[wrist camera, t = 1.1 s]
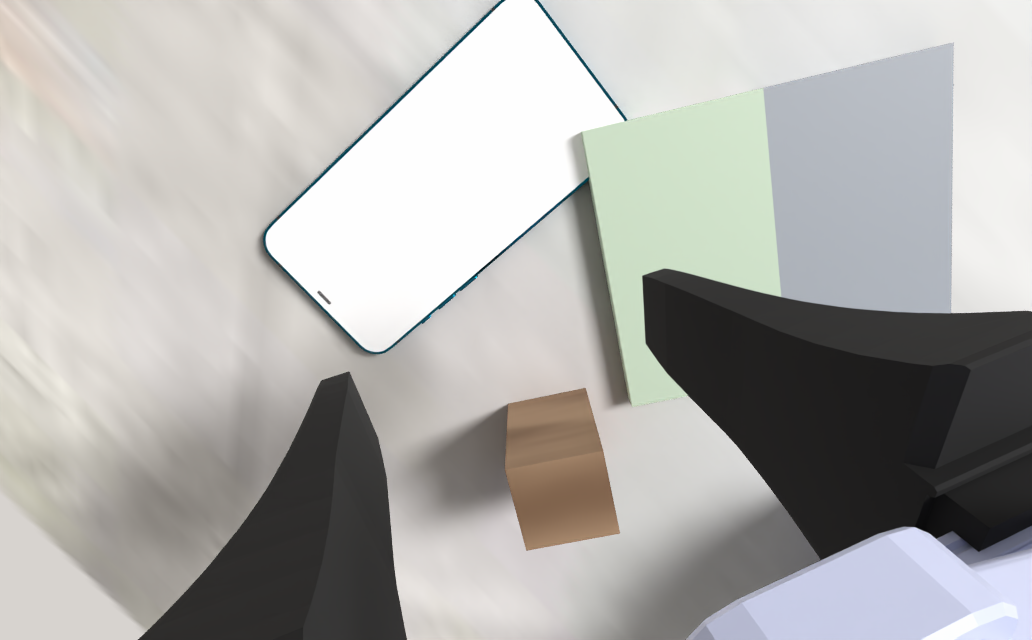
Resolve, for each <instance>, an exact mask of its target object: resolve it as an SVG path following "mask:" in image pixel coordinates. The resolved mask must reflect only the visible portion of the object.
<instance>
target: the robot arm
mask: <svg viewBox="0 0 1032 640" xmlns="http://www.w3.org/2000/svg"><path fill="white" fill-rule="evenodd" d="M642 283H643V303H644V324H645V344H646V345H647V346H648V348H649V349H650V351H651V352H652V354H653V355H654V356H655V358H656V359H657V361H658V362H659V363H660V365H661V366H662V367H663V369H664V370H665V371H666V373H667V374H668V375H669V376H670V377H671V378H672V379H673V380H674V381H675V382H676V383H677V384H678V385H679V386H680V387H681V389H682V390H683V391H684V392H685V393H686V394H687V395H688V396H689V397H690V398H691V399H692V400H693V401H694V402H695V403H696V404H697V405H698V406H699V407H700V408H701V409H702V410H703V411H704V412H705V413H706V414H707V415H708V416H709V417H710V418H711V419H712V420H713V421H714V422H715V423H716V424H717V425H718V426H719V427H720V428H721V429H722V430H723V431H724V432H725V433H726V434H727V435H728V436H729V438H730V439H731V440H732V441H733V442H734V443H735V444H736V445H737V446H738V448H739V449H740V450H741V451H742V453H743V454H744V455H745V456H746V458H747V459H748V460H749V461H750V463H751V464H752V465H753V466H754V468H755V469H756V470H757V472H758V473H759V474H760V475H761V477H762V478H763V479H764V481H765V482H766V483H767V485H768V486H769V487H770V489H771V490H772V491H773V493H774V494H775V495H776V497H777V498H778V499H779V501H780V502H781V503H782V505H783V506H784V507H785V509H786V510H787V511H788V513H789V514H790V516H791V517H792V519H793V520H794V521H795V523H796V524H797V526H798V527H799V529H800V530H801V532H802V533H803V534H804V536H805V537H806V539H807V540H808V542H809V543H810V544H811V546H812V547H813V549H814V550H815V552H816V553H817V555H818V556H819V558H820V559H821V561H819V562H816V563H814V564H812V565H810V566H808V567H806V568H804V569H801V570H799V571H797V572H795V573H793V574H791V575H789V576H786V577H784V578H782V579H780V580H778V581H776V582H773V583H771V584H769V585H767V586H765V587H763V588H761V589H758V590H756V591H754V592H752V593H750V594H748V595H746V596H743V597H741V598H739V599H737V600H735V601H734V602H732V603H730V604H729V605H727V606H726V607H724V608H722V609H721V610H719V611H718V612H716V613H714V614H713V615H711V616H710V617H708V618H706V619H705V620H704V621H703V622H702V623H701V624H700V625H699V626H698V627H697V628H696V629H695V630H694V631H693V632H692V633H691V634H690V635H689V636H688V638H687V639H686V640H1032V312H1031V311H1011V312H984V313H911V312H891V311H878V310H865V309H855V308H845V307H837V306H831V305H824V304H817V303H810V302H804V301H799V300H793V299H788V298H784V297H779V296H774V295H770V294H765V293H761V292H757V291H753V290H749V289H745V288H741V287H737V286H733V285H730V284H726V283H722V282H718V281H715V280H711V279H707V278H704V277H700V276H696V275H693V274H689V273H685V272H681V271H676V270H671V269H666V268H664V269H661V270H658V271H655V272H652V273H649V274H645V275H642ZM138 640H407V638H406V633H405V628H404V622H403V617H402V612H401V607H400V601H399V596H398V591H397V585H396V578H395V570H394V560H393V548H392V536H391V524H390V512H389V500H388V489H387V478H386V473H385V468H384V463H383V458H382V454H381V449H380V445H379V440H378V437H377V435H376V432H375V430H374V428H373V425H372V423H371V421H370V418H369V416H368V414H367V411H366V409H365V407H364V405H363V402H362V400H361V398H360V395H359V393H358V391H357V388H356V386H355V384H354V381H353V379H352V377H351V374H350V372H346V373H343V374H340V375H337V376H334V377H331V378H328V379H325V380H322V381H321V382H320V384H319V386H318V388H317V390H316V393H315V395H314V397H313V400H312V402H311V404H310V407H309V409H308V411H307V413H306V415H305V418H304V420H303V422H302V424H301V426H300V428H299V430H298V432H297V434H296V436H295V438H294V441H293V443H292V445H291V447H290V449H289V451H288V452H287V454H286V456H285V458H284V460H283V461H282V463H281V465H280V467H279V468H278V470H277V472H276V474H275V476H274V477H273V479H272V481H271V483H270V484H269V486H268V487H267V489H266V491H265V492H264V494H263V495H262V497H261V499H260V500H259V502H258V503H257V504H256V506H255V507H254V509H253V510H252V511H251V513H250V514H249V516H248V517H247V519H246V520H245V521H244V523H243V524H242V525H241V527H240V528H239V529H238V531H237V532H236V533H235V534H234V536H233V537H232V538H231V539H230V540H229V542H228V543H227V544H226V545H225V547H224V548H223V549H222V550H221V552H220V553H219V554H218V555H217V556H216V558H215V559H214V560H213V561H212V563H211V564H210V565H209V566H208V567H207V569H206V570H205V571H204V572H203V573H202V574H201V575H200V577H199V578H198V579H197V580H196V581H195V582H194V583H193V584H192V585H191V586H190V588H189V589H188V590H187V591H186V592H185V593H184V594H183V595H182V596H181V597H180V598H179V599H178V600H177V601H176V602H175V603H174V605H173V606H172V607H171V608H170V609H169V610H168V611H167V612H166V613H165V614H164V615H163V616H162V617H161V618H160V619H159V620H158V621H157V622H156V623H155V624H154V625H153V626H152V627H151V628H150V629H149V630H148V631H147V632H146V633H145V634H144V635H143V636H142V637H140V638H139V639H138Z"/></svg>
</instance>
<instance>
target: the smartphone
mask: <svg viewBox="0 0 1032 640" xmlns="http://www.w3.org/2000/svg"><path fill="white" fill-rule="evenodd" d="M624 121H627V119H626V117H625V116H624V114H623V113H622V112H621V110H620V109H619V108H618V106H617V105H616V104H615V102H614V101H613V100H612V98H611V97H610V95H609V94H608V93H607V91H606V90H605V89H604V87H603V86H602V85H601V83H600V82H599V81H598V79H597V78H596V77H595V75H594V74H593V73H592V71H591V70H590V69H589V67H588V66H587V65H586V63H585V62H584V61H583V59H582V58H581V57H580V55H579V54H578V53H577V51H576V50H575V49H574V47H573V46H572V45H571V43H570V42H569V41H568V39H567V38H566V37H565V35H564V34H563V33H562V31H561V30H560V29H559V27H558V26H557V25H556V23H555V22H554V21H553V19H552V18H551V16H550V15H549V14H548V12H547V11H546V10H545V8H544V7H543V6H542V4H541V3H540V2H539V1H538V0H501V1H499V2H498V3H497V4H496V5H495V6H494V7H493V8H492V9H491V10H490V11H489V12H488V13H487V14H486V15H485V16H484V17H483V18H482V19H481V20H480V21H479V22H478V23H477V24H476V25H475V26H474V27H473V28H472V29H471V30H469V31H468V32H467V33H466V34H465V35H464V36H463V37H462V38H461V39H460V40H459V41H458V42H457V43H456V44H455V45H454V46H453V47H452V48H451V49H450V50H449V51H448V52H447V53H446V54H445V55H444V56H443V57H442V58H441V59H440V60H439V61H438V62H437V63H435V64H434V65H433V66H432V67H431V68H430V69H429V70H428V71H427V72H426V73H425V74H424V75H423V76H422V77H421V78H420V79H419V80H418V81H417V82H416V83H415V84H414V85H413V86H412V87H411V88H410V89H409V90H408V91H407V92H406V93H405V94H404V95H403V96H401V97H400V98H399V99H398V100H397V101H396V102H395V103H394V104H393V105H392V106H391V107H390V108H389V109H388V110H387V111H386V112H385V113H384V114H383V115H382V116H381V117H380V118H379V119H378V120H377V121H376V122H375V123H374V124H373V125H372V126H371V127H370V128H369V129H368V130H366V131H365V132H364V133H363V134H362V135H361V136H360V137H359V138H358V139H357V140H356V141H355V142H354V143H353V144H352V145H351V146H350V147H348V148H347V149H346V150H345V151H344V152H343V153H342V154H341V155H340V156H339V157H338V158H337V159H336V160H335V161H334V162H333V163H332V164H331V165H330V166H329V167H328V168H327V169H326V170H325V171H324V172H323V173H322V174H321V175H320V176H319V177H318V178H317V179H316V180H315V181H314V182H313V183H312V184H311V185H310V186H309V187H308V188H307V189H306V190H305V191H304V192H303V193H302V194H301V195H300V196H298V197H297V198H296V199H295V200H294V201H293V202H292V203H291V204H290V205H289V206H288V207H287V208H286V209H285V210H284V211H283V212H282V213H281V214H280V215H279V216H278V217H277V218H276V219H275V220H274V221H273V222H272V223H271V224H270V225H269V226H268V227H267V229H266V230H265V232H264V236H263V243H264V247H265V250H266V252H267V253H268V255H269V256H270V257H271V258H272V259H273V260H274V261H275V262H276V263H277V264H278V265H279V266H280V267H281V268H282V269H283V270H284V271H285V272H286V273H287V274H288V275H289V276H290V277H291V278H292V279H293V280H294V281H295V282H296V283H297V284H298V285H299V286H300V287H301V288H302V289H303V290H304V291H305V292H306V293H307V294H308V296H309V297H310V298H311V299H312V300H313V301H314V302H315V303H316V304H317V305H318V306H319V307H320V308H321V309H322V310H323V311H324V312H325V313H326V314H327V315H328V316H329V317H330V318H331V319H332V320H333V321H334V322H335V323H336V324H337V325H338V326H339V327H340V328H341V329H342V330H343V331H344V332H345V333H346V334H347V335H348V336H349V337H350V338H351V339H352V340H353V341H354V342H355V343H356V344H357V345H358V346H359V347H360V348H361V349H363V350H364V351H366V352H368V353H371V354H382V353H386V352H387V351H388V350H390V349H391V348H393V347H394V346H395V345H396V344H397V343H399V342H400V341H401V340H402V339H403V338H404V337H406V336H407V335H408V334H409V333H410V332H411V331H413V330H414V329H415V328H416V327H417V326H419V325H420V324H421V323H422V324H423V323H424V322H425V321H427V320H428V319H429V318H430V317H431V316H430V315H431V314H433V313H434V312H435V311H436V310H437V309H441V308H442V307H443V306H444V305H445V304H446V303H448V302H449V301H450V300H451V299H452V298H453V297H455V296H456V293H457V292H458V291H459V290H460V291H462V290H463V289H464V288H465V287H466V286H468V285H469V284H470V283H471V282H472V281H473V280H475V279H476V278H477V277H478V274H479V273H481V272H482V271H483V270H484V269H485V268H486V267H488V266H489V265H490V264H491V263H492V262H493V261H495V260H496V259H497V258H498V257H499V256H500V255H502V254H503V253H504V252H505V251H506V250H507V249H509V248H510V247H511V246H512V245H513V244H514V243H516V242H517V241H518V240H519V239H520V238H521V237H523V236H524V235H525V234H526V233H527V232H528V231H530V230H531V229H532V228H533V227H534V226H536V225H537V224H538V223H539V222H540V221H541V220H543V219H544V218H545V217H546V216H547V215H548V214H550V213H551V212H552V211H553V210H554V209H555V208H557V207H558V206H559V205H560V204H561V203H562V202H564V201H565V200H566V199H567V198H568V197H569V196H571V195H572V194H573V193H574V192H575V191H576V190H578V189H579V188H580V187H581V186H582V185H583V184H585V183H586V182H587V181H588V180H589V175H588V169H587V164H586V158H585V153H584V147H583V142H582V136H581V132H582V131H586V130H590V129H594V128H599V127H603V126H607V125H611V124H615V123H620V122H624Z"/></svg>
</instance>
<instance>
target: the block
mask: <svg viewBox="0 0 1032 640" xmlns="http://www.w3.org/2000/svg"><path fill="white" fill-rule="evenodd" d="M505 472H506V476H507V480H508V484H509V487H510V491H511V495H512V498H513V502H514V506H515V510H516V513H517V517H518V521H519V525H520V528H521V532H522V536H523V540H524V543H525V547H526V551H527V550H532V549H538V548H543V547H549V546H554V545H560V544H565V543H571V542H576V541H581V540H587V539H592V538H598V537H603V536H609V535H614V534H619V533H620V531H619V526H618V521H617V516H616V511H615V507H614V502H613V497H612V492H611V487H610V482H609V477H608V472H607V467H606V462H605V458H604V453H603V449H602V445H601V441H600V438H599V434H598V431H597V427H596V424H595V420H594V416H593V413H592V409H591V406H590V402H589V399H588V395H587V392H586V388H583V389H578V390H573V391H569V392H564V393H559V394H554V395H549V396H544V397H539V398H534V399H529V400H525V401H520V402H515V403H510V404H508V416H507V436H506V457H505Z"/></svg>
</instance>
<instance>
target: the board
mask: <svg viewBox="0 0 1032 640" xmlns="http://www.w3.org/2000/svg"><path fill="white" fill-rule="evenodd" d="M953 46H954V42H953V43H949V44H945V45H941V46H937V47H932V48H928V49H924V50H920V51H916V52H912V53H907V54H903V55H899V56H895V57H891V58H887V59H882V60H878V61H874V62H870V63H866V64H861V65H857V66H853V67H849V68H845V69H841V70H836V71H832V72H828V73H824V74H820V75H816V76H811V77H807V78H803V79H799V80H795V81H791V82H786V83H782V84H778V85H774V86H770V87H766V88H761V89H757V90H753V91H749V92H745V93H740V94H736V95H732V96H728V97H724V98H720V99H715V100H711V101H707V102H703V103H699V104H695V105H690V106H686V107H682V108H678V109H674V110H670V111H665V112H661V113H657V114H653V115H649V116H645V117H640V118H636V119H632V120H628V121H624V122H620V123H615V124H611V125H607V126H603V127H599V128H594V129H590V130H586V131H582V132H581V136H582V142H583V147H584V153H585V158H586V164H587V169H588V175H589V186H590V191H591V197H592V202H593V208H594V213H595V219H596V224H597V230H598V235H599V240H600V246H601V251H602V257H603V262H604V268H605V273H606V279H607V284H608V290H609V295H610V301H611V306H612V312H613V317H614V323H615V328H616V334H617V339H618V344H619V350H620V355H621V361H622V366H623V372H624V377H625V383H626V388H627V394H628V399H629V401H630V403H631V405H632V407H635V406H640V405H645V404H650V403H655V402H660V401H665V400H670V399H675V398H680V397H685V396H688V395H687V394H686V393H685V392H684V391H683V390H682V389H681V387H680V386H679V385H678V384H677V383H676V382H675V381H674V380H673V379H672V378H671V377H670V376H669V375H668V374H667V373H666V371H665V370H664V369H663V367H662V366H661V365H660V363H659V362H658V361H657V359H656V358H655V356H654V355H653V354H652V352H651V351H650V349H649V348H648V346H647V345H646V344H645V324H644V303H643V283H642V275H645V274H649V273H652V272H655V271H658V270H661V269H664V268H666V269H671V270H676V271H681V272H685V273H689V274H693V275H696V276H700V277H704V278H707V279H711V280H715V281H718V282H722V283H726V284H730V285H733V286H737V287H741V288H745V289H749V290H753V291H757V292H761V293H765V294H770V295H774V296H779V297H784V298H788V299H793V300H799V301H804V302H810V303H817V304H824V305H831V306H837V307H845V308H855V309H865V310H878V311H891V312H911V313H951V265H952V155H953Z"/></svg>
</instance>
